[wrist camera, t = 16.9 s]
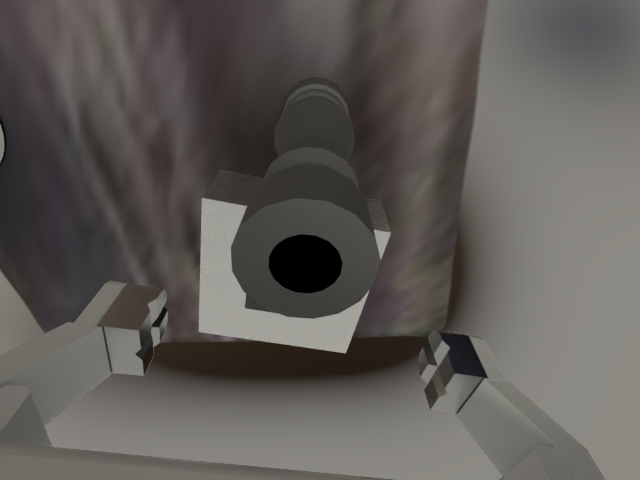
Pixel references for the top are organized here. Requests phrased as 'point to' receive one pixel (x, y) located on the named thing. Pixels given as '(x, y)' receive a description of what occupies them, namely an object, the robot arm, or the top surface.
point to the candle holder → (308, 214)
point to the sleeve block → (226, 293)
